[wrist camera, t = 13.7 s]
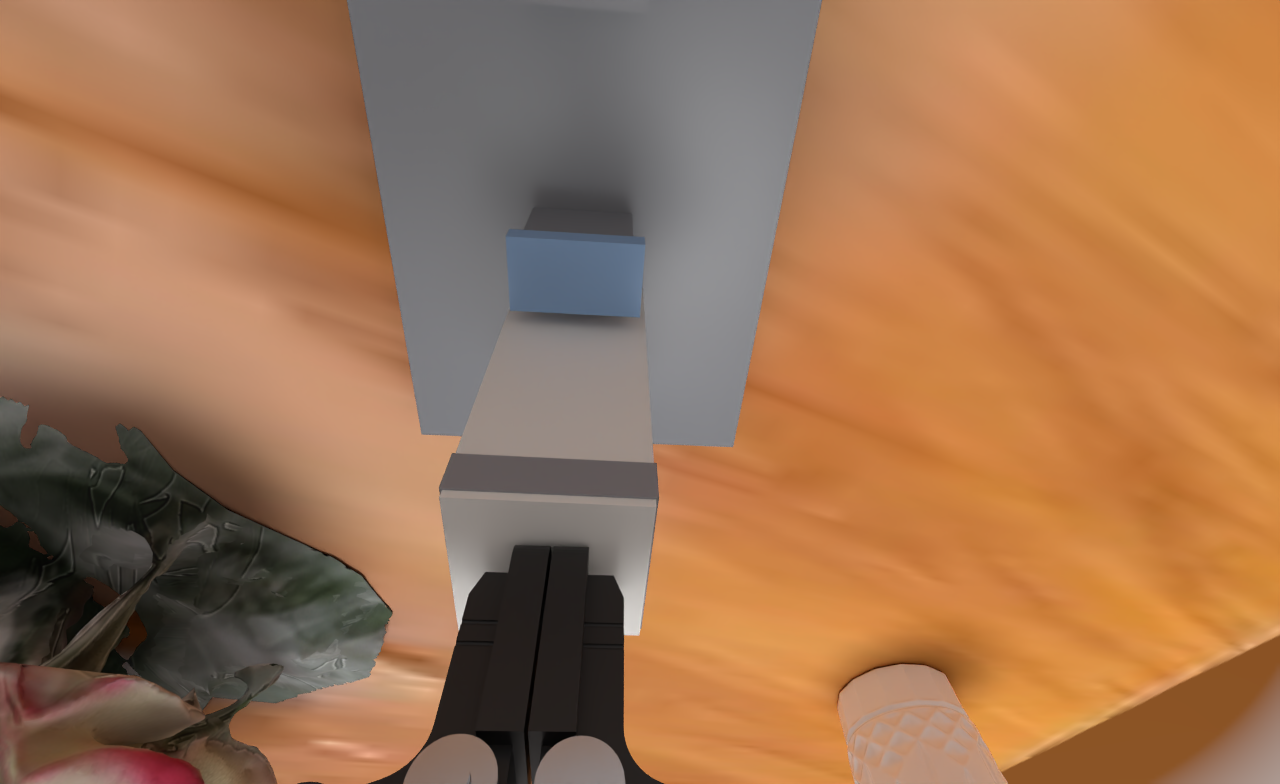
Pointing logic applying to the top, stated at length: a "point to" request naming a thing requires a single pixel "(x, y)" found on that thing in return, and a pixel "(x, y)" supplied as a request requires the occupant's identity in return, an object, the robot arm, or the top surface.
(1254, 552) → the top surface
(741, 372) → the mounting plate with blocks
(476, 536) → the plug
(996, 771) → the white cup
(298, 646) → the rose bouquet
